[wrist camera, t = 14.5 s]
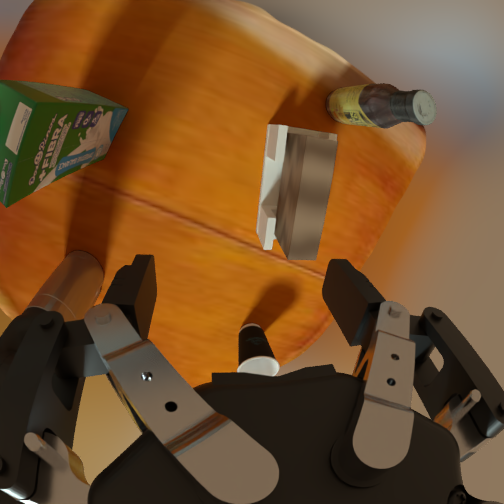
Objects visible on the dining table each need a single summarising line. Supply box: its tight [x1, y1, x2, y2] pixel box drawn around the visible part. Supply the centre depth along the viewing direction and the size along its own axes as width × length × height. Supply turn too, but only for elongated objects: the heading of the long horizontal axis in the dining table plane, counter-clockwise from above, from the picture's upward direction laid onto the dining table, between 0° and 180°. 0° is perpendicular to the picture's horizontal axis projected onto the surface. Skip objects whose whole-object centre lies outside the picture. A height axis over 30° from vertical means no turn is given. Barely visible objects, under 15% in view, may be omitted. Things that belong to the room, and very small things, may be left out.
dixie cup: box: [237, 323, 279, 376], centre depth 52 cm, size 8×8×11 cm
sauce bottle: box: [326, 83, 436, 128], centre depth 29 cm, size 7×6×20 cm
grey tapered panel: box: [274, 133, 338, 260], centre depth 36 cm, size 16×4×9 cm, turn 174°
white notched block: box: [256, 124, 337, 250], centre depth 40 cm, size 18×9×7 cm, turn 174°
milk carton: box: [0, 80, 128, 208], centre depth 23 cm, size 9×9×25 cm
